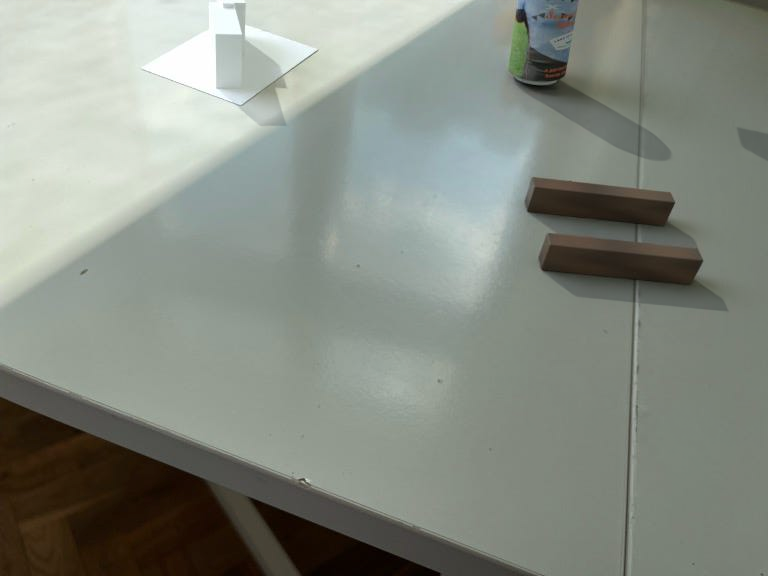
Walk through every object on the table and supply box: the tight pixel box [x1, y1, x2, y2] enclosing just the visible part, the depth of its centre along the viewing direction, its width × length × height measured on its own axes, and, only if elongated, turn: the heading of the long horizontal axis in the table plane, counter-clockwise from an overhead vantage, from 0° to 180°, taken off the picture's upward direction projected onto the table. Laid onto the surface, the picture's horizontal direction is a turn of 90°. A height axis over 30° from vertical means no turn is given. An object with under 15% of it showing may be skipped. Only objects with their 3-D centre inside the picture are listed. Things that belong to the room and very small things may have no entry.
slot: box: [524, 176, 704, 285], centre depth 63 cm, size 12×9×2 cm
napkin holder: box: [140, 0, 319, 106], centre depth 76 cm, size 15×11×6 cm
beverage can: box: [507, 0, 580, 86], centre depth 80 cm, size 6×7×12 cm
